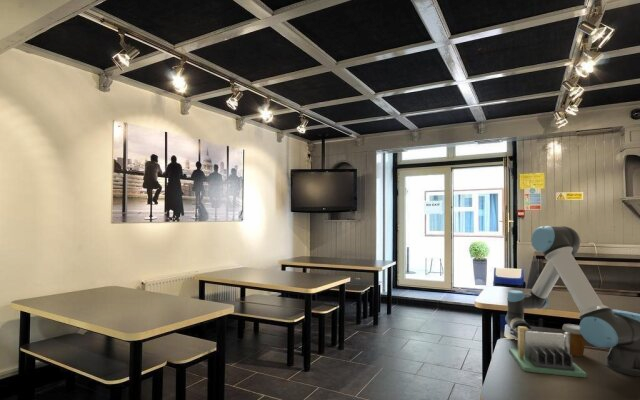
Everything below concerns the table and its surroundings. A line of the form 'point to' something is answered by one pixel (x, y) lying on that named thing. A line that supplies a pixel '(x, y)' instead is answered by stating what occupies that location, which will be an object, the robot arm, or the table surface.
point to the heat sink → (547, 354)
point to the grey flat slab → (542, 341)
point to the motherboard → (528, 366)
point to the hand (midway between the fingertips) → (536, 344)
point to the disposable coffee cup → (575, 339)
